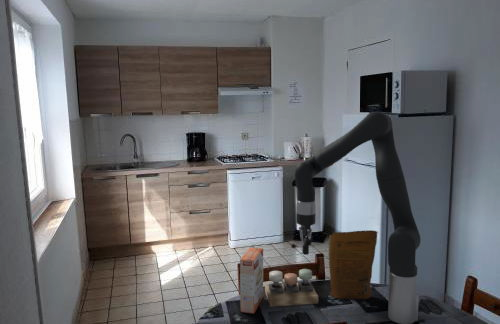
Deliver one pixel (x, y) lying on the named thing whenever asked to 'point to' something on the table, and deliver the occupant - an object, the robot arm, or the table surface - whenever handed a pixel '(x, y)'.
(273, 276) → the white round piece
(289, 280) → the peach ball
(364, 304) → the table surface
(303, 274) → the pale green ball
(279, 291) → the tan slotted panel
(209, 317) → the table surface
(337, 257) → the pancake mix bag
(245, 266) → the cracker box
